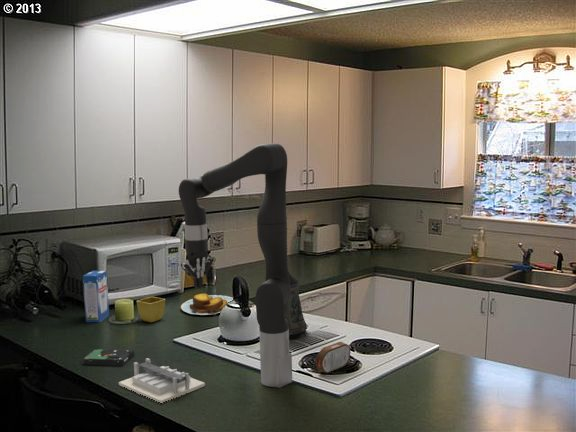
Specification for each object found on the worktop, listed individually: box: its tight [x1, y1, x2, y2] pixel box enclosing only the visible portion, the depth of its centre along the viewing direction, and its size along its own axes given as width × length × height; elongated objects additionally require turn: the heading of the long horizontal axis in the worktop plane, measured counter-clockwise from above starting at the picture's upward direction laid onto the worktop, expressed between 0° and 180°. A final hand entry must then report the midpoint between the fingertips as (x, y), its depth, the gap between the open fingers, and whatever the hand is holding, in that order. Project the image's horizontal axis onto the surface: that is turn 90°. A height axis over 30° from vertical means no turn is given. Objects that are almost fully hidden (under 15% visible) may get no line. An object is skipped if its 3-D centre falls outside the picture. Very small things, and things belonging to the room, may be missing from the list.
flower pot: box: [136, 296, 166, 323], centre depth 274 cm, size 9×9×9 cm
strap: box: [139, 361, 186, 383], centre depth 205 cm, size 21×3×1 cm, turn 48°
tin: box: [315, 341, 351, 374], centre depth 215 cm, size 15×3×8 cm, turn 134°
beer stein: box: [284, 270, 307, 341], centre depth 250 cm, size 16×19×25 cm
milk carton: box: [82, 270, 110, 323], centre depth 278 cm, size 10×6×20 cm, turn 172°
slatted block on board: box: [118, 357, 206, 404], centre depth 205 cm, size 22×17×6 cm
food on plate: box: [180, 293, 234, 316], centre depth 290 cm, size 25×25×7 cm
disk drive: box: [82, 348, 135, 367], centre depth 230 cm, size 10×3×15 cm
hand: (198, 287), depth 219 cm, fingers closed
